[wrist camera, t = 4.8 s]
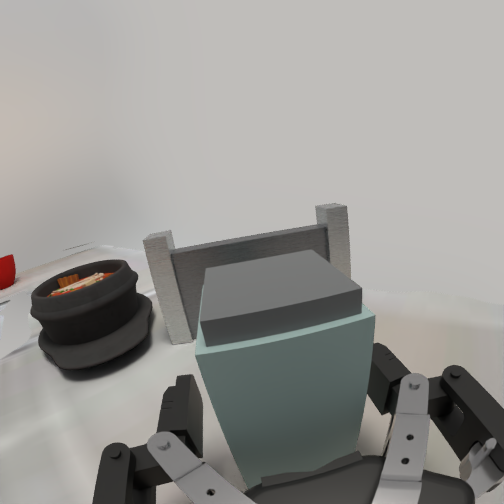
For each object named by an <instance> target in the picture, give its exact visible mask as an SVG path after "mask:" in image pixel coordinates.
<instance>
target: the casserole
mask: <svg viewBox="0 0 504 504" xmlns="http://www.w3.org/2000/svg"><path fill="white" fill-rule="evenodd" d="M137 280H138V274H137V273H136V272H134V271H133V270H131V268H130V267H129V265H128V264H127V262H126V261H124V260H104V261H98V262H93V263H89V264H85V265H82V266H79V267H76V268H73V269H70V270H67V271H65V272H63V273H60V274H58V275H56V276H54V277H52V278H50V279H48V280H47V281H45V282H43V283H42V284H41V285H39V286H38V287H37V288H36V289H35V290H34V291H33V292H32V295H31V299H32V307H31V312H30V314H31V315H32V317H34V318H35V319H37V320H39V322H40V324H41V325H42V327H43V329H42V331H41V332H40V335H39V339H38V343H39V346H40V348H41V349H42V350H43V351H44V352H46V353H47V354H48V355H50V356H51V357H52V358H53V360H54V362H55V363H56V364H57V365H58V367H59V368H62V369H66V370H76V369H83V368H88V367H92V366H95V365H98V364H101V363H105V362H107V361H110V360H112V359H114V358H116V357H118V356H120V355H122V354H124V353H126V352H127V351H129V350H131V349H132V348H134V347H135V346H137V345H138V344H139V343H140V342H142V341H143V340H144V339H145V337H146V336H147V334H148V330H149V325H148V319H149V316H150V313H151V310H152V302H151V300H150V299H149V298H148V297H146V296H144V295H143V294H139V293H137V292H136V282H137Z"/></svg>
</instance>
